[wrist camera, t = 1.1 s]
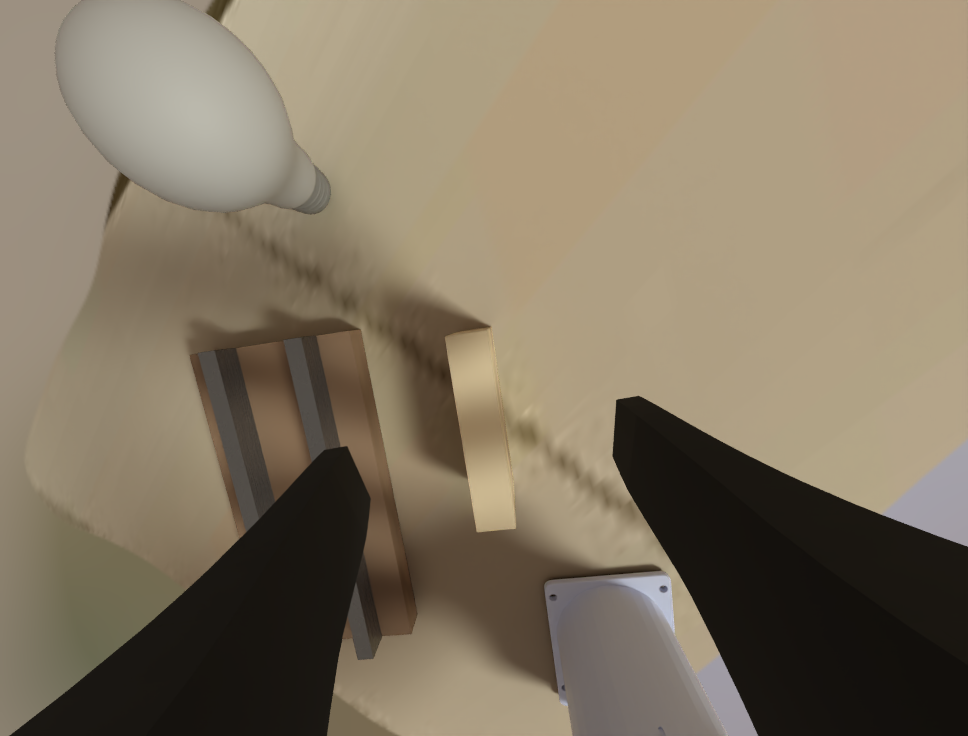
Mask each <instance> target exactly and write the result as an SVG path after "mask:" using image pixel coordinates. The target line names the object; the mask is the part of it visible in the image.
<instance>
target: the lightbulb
mask: <svg viewBox="0 0 968 736" xmlns="http://www.w3.org/2000/svg"><path fill="white" fill-rule="evenodd" d="M55 63H56V75H57V79H58V83H59V87H60V91H61V94H62V96H63V98H64V101H65V103H66V105H67V107H68V109H69V110H70V112H71V114H72V115H73V117H74V118H75V121H76V122H77V124H78V125H79V127H80V128H81V130H82V132H83V134H84V135H85V136H86V137H87V138H88V139H89V140H90V142H91V143H92V144H93V145H94V146H95V148H96V149H97V150H98V151H99V152H100V153H101V154H102V155H103V157H104V158H105V159H106V160H107V161H108V162H109V163H110V164H111V165H113V166H114V167H115V168H116V169H117V170H119V171H120V172H121V173H122V174H124V175H125V176H126V177H128V178H129V179H130V180H132V181H133V182H134V183H136V184H137V185H139V186H141V187H143V188H144V189H146V190H148V191H150V192H151V193H153V194H155V195H157V196H159V197H161V198H162V199H164V200H166V201H169V202H172V203H175V204H178V205H181V206H184V207H187V208H190V209H193V210H200V211H209V212H221V213H227V212H236V211H241V210H245V209H248V208H252V207H255V206H258V205H261V204H263V203H267V204H271V205H274V206H277V207H280V208H286V209H290V208H291V209H294V210H296V211H299V212H302V213H305V214H316V213H319V212H320V211H322V210H323V209H324V208H325V207H326V206H327V204H328V202H329V200H330V195H331V189H330V184H329V181H328V180H327V178H326V176H325V175H324V174H323V173H322V172H321V171H320V170H319V169H318V168H317V167H316V166H315V165H314V164H313V163H312V161H311V159H310V157H309V156H308V154H307V153H306V152H305V151H304V150H303V149H302V148H301V147H300V146H299V145H298V144H297V143H296V141H295V140H294V138H293V132H292V128H291V124H290V121H289V118H288V114H287V111H286V108H285V105H284V102H283V99H282V97H281V95H280V93H279V91H278V90H277V88H276V86H275V84H274V82H273V81H272V79H271V77H270V76H269V74H268V73H267V71H266V69H265V68H264V66H263V65H262V64H261V63H260V61H259V60H258V59H257V58H256V56H255V55H254V54H253V53H252V52H251V50H250V49H249V48H248V47H247V46H246V45H245V44H244V43H243V42H242V41H241V40H240V39H239V38H238V37H236V36H235V35H234V34H233V33H232V32H231V31H229V30H228V29H227V28H226V27H225V26H223V25H222V24H221V23H219V22H218V21H216V20H215V19H214V18H212V17H211V16H209V15H207V14H206V13H204V12H202V11H200V10H199V9H197V8H195V7H193V6H191V5H189V4H187V3H185V2H183V1H181V0H82V1H80V2H79V3H78V4H77V5H75V6H74V7H73V9H71V11H70V12H69V13H68V15H67V16H66V17H65V18H64V20H63V22H62V24H61V26H60V28H59V31H58V35H57V38H56V45H55Z"/></svg>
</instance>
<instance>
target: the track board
mask: <svg viewBox="0 0 968 736" xmlns="http://www.w3.org/2000/svg"><path fill="white" fill-rule="evenodd" d="M190 359H191V362H192V366H193V370H194V373H195V377H196V381H197V384H198V388H199V392H200V395H201V399H202V402H203V406H204V410H205V413H206V417H207V421H208V424H209V428H210V432H211V435H212V439H213V442H214V446H215V450H216V453H217V457H218V461H219V464H220V468H221V472H222V475H223V479H224V482H225V486H226V490H227V493H228V497H229V501H230V504H231V508H232V512H233V515H234V519H235V522H236V526H237V530H238V533H239V537H240V538H241V537H242V536H243V535H244V534H245V533H246V532H247V531H248V530H249V529H250V528H251V527H252V526H253V525H254V524H255V523H256V522H257V521H258V520H259V519H260V518H261V517H262V515H263V514H264V513H265V512H266V511H267V510H268V509H269V508H270V507H271V506H272V505H273V504H274V503H275V502H276V500H277V499H278V498H279V497H280V496H281V495H282V494H283V493H284V492H285V491H286V490H287V489H288V488H289V487H290V485H291V484H292V483H293V482H294V481H295V480H296V479H297V478H298V477H299V476H300V475H301V473H302V472H303V471H304V470H305V469H306V468H307V467H308V466H309V465H310V464H311V463H312V462H313V461H314V460H315V459H316V458H317V456H318V455H319V454H321V453H322V452H323V451H324V450H326V449H332V448H338V447H344V446H347V447H348V449H349V451H350V453H351V456H352V458H353V460H354V462H355V464H356V467H357V469H358V471H359V473H360V476H361V478H362V480H363V482H364V484H365V487H366V489H367V491H368V493H369V495H370V498H371V502H370V512H369V521H368V529H367V537H366V541H365V546H364V550H363V554H362V559H361V563H360V567H359V571H358V575H357V580H356V584H355V588H354V592H353V596H352V600H351V604H350V608H349V612H348V617H347V621H346V625H345V629H344V633H343V638H342V639H349V638H353V641H354V645H355V650H356V654H357V658H358V660H362V659H373V658H374V656H375V653H376V651H377V648H378V645H379V643H380V640H381V638H382V636H390V635H404V634H412V630H413V627H414V624H415V620H416V617H417V610H416V605H415V600H414V595H413V590H412V585H411V580H410V575H409V570H408V565H407V560H406V555H405V550H404V545H403V540H402V535H401V530H400V525H399V520H398V515H397V510H396V505H395V500H394V495H393V490H392V485H391V480H390V475H389V470H388V465H387V460H386V455H385V450H384V445H383V440H382V435H381V430H380V425H379V420H378V415H377V410H376V405H375V400H374V395H373V390H372V385H371V380H370V375H369V370H368V365H367V360H366V355H365V350H364V345H363V340H362V335H361V330H351V331H344V332H337V333H331V334H324V335H317V336H308V337H300V338H293V339H287V340H283V341H278V342H271V343H265V344H258V345H252V346H245V347H238V348H231V349H222V350H214V351H208V352H201V353H198V354H192V355H190Z"/></svg>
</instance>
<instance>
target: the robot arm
mask: <svg viewBox="0 0 968 736" xmlns="http://www.w3.org/2000/svg"><path fill="white" fill-rule="evenodd" d="M613 459H614V461H615V463H616V465H617V468H618V470H619V472H620V475H621V477H622V479H623V481H624V483H625V485H626V487H627V489H628V491H629V493H630V495H631V496H632V498H633V500H634V501H635V503H636V505H637V506H638V508H639V510H640V511H641V513H642V515H643V516H644V518H645V520H646V521H647V523H648V525H649V526H650V528H651V529H652V531H653V533H654V534H655V536H656V538H657V539H658V541H659V542H660V544H661V546H662V547H663V549H664V551H665V552H666V554H667V555H668V557H669V559H670V560H671V562H672V564H673V565H674V567H675V568H676V570H677V572H678V573H679V575H680V577H681V579H682V580H683V582H684V584H685V586H686V587H687V589H688V591H689V593H690V595H691V596H692V598H693V600H694V602H695V604H696V606H697V608H698V610H699V612H700V614H701V616H702V618H703V620H704V622H705V624H706V626H707V628H708V630H709V632H710V634H711V636H712V638H713V640H714V642H715V644H716V647H717V649H718V651H719V653H720V655H721V657H722V659H723V661H724V663H725V665H726V667H727V669H728V672H729V674H730V676H731V678H732V680H733V682H734V684H735V686H736V688H737V690H738V692H739V694H740V697H741V699H742V701H743V703H744V705H745V708H746V710H747V712H748V714H749V716H750V718H751V721H752V723H753V725H754V727H755V730H756V732H757V734H758V736H968V547H967V546H964V545H961V544H958V543H956V542H953V541H950V540H947V539H944V538H941V537H938V536H936V535H933V534H931V533H928V532H925V531H923V530H920V529H917V528H915V527H912V526H909V525H907V524H904V523H901V522H899V521H896V520H894V519H891V518H888V517H886V516H883V515H880V514H878V513H875V512H873V511H870V510H868V509H865V508H863V507H861V506H858V505H856V504H853V503H851V502H848V501H846V500H844V499H841V498H839V497H837V496H834V495H832V494H830V493H827V492H825V491H823V490H820V489H818V488H816V487H813V486H811V485H809V484H807V483H804V482H802V481H800V480H798V479H795V478H793V477H791V476H789V475H787V474H785V473H782V472H780V471H778V470H776V469H774V468H772V467H770V466H768V465H766V464H764V463H762V462H760V461H758V460H756V459H754V458H752V457H750V456H748V455H746V454H744V453H742V452H740V451H738V450H736V449H734V448H732V447H731V446H729V445H727V444H725V443H723V442H721V441H719V440H717V439H716V438H714V437H712V436H710V435H708V434H706V433H705V432H703V431H701V430H699V429H697V428H696V427H694V426H692V425H690V424H689V423H687V422H685V421H683V420H682V419H680V418H678V417H676V416H675V415H673V414H671V413H669V412H668V411H666V410H664V409H662V408H660V407H659V406H657V405H655V404H653V403H652V402H650V401H648V400H646V399H644V398H642V397H640V396H636V397H630V398H624V399H618V400H616V413H615V428H614V442H613ZM370 502H371V498H370V495H369V493H368V491H367V489H366V487H365V484H364V482H363V480H362V478H361V476H360V473H359V471H358V469H357V467H356V464H355V462H354V460H353V458H352V456H351V453H350V451H349V449H348V447H347V446H344V447H338V448H332V449H326V450H324V451H323V452H322V453H321V454H319V455H318V456H317V458H316V459H315V460H314V461H313V462H312V463H311V464H310V465H309V466H308V467H307V468H306V469H305V470H304V471H303V472H302V473H301V475H300V476H299V477H298V478H297V479H296V480H295V481H294V482H293V483H292V484H291V485H290V487H289V488H288V489H287V490H286V491H285V492H284V493H283V494H282V495H281V496H280V497H279V498H278V499H277V500H276V502H275V503H274V504H273V505H272V506H271V507H270V508H269V509H268V510H267V511H266V512H265V513H264V514H263V515H262V517H261V518H260V519H259V520H258V521H257V522H256V523H255V524H254V525H253V526H252V527H251V528H250V529H249V530H248V531H247V532H246V533H245V534H244V535H243V536H242V537H241V538H240V539H239V540H238V541H237V542H236V543H235V544H234V545H233V546H232V547H231V548H230V549H229V550H228V551H227V552H226V553H225V554H224V555H223V556H222V557H221V558H220V559H219V560H218V561H217V562H216V563H215V564H214V565H213V566H212V567H211V568H210V569H209V570H208V571H207V572H205V573H204V574H203V575H202V576H201V577H200V578H199V579H198V580H197V581H196V582H195V583H194V584H193V585H192V586H190V587H189V588H188V589H187V590H186V591H185V592H184V593H183V594H182V595H181V596H179V597H178V598H177V599H176V600H175V601H174V602H173V603H172V604H170V605H169V606H168V607H167V608H166V609H165V610H164V611H163V612H161V613H160V614H159V615H158V616H157V617H156V618H155V619H154V620H152V621H151V622H150V623H149V624H148V625H147V626H146V627H144V628H143V629H142V630H141V631H140V632H138V634H136V635H135V636H134V637H132V638H131V639H130V640H129V641H127V642H126V643H125V644H124V645H123V646H121V647H120V648H119V649H118V650H117V651H115V652H114V653H113V654H112V655H111V656H109V657H108V658H107V659H106V660H104V661H103V662H102V663H101V664H99V665H98V666H97V667H96V668H95V669H93V670H92V671H91V672H90V673H89V674H87V675H86V676H85V677H84V678H83V679H81V680H80V681H79V682H78V683H76V684H75V685H74V686H73V687H71V688H70V689H69V690H68V691H67V692H65V693H64V694H63V695H62V696H60V697H59V698H58V699H56V700H55V701H54V702H53V703H51V704H50V705H49V706H47V707H46V708H45V709H44V710H42V711H41V712H40V713H38V714H37V715H36V716H34V717H33V718H32V719H31V720H29V721H28V722H27V723H26V724H24V725H23V726H21V727H20V728H19V729H18V730H16V731H15V732H14V733H12V734H11V735H10V736H327V730H328V723H329V715H330V709H331V702H332V696H333V689H334V683H335V676H336V670H337V663H338V657H339V652H340V647H341V643H342V638H343V633H344V629H345V625H346V621H347V617H348V612H349V608H350V604H351V600H352V596H353V592H354V588H355V584H356V580H357V575H358V571H359V567H360V563H361V559H362V554H363V550H364V546H365V541H366V537H367V529H368V521H369V512H370ZM663 585H665V586H664V587H662V588H660V587H661V586H663ZM544 591H545V598H546V605H547V613H548V620H549V627H550V634H551V642H552V649H553V656H554V664H555V671H556V678H557V685H558V693H559V700H560V702H561V703H562V704H563V705H565V706H568V709H569V715H570V721H571V728H572V734H573V736H728V734H727V732H726V730H725V728H724V727H723V725H722V723H721V721H720V719H719V717H718V715H717V713H716V711H715V710H714V708H713V706H712V704H711V702H710V700H709V698H708V696H707V694H706V693H705V691H704V689H703V687H702V685H701V683H700V681H699V679H698V678H697V676H696V674H695V672H694V670H693V668H692V666H691V664H690V662H689V661H688V659H687V657H686V655H685V653H684V651H683V649H682V647H681V645H680V644H679V642H678V640H677V638H676V636H675V629H674V616H673V603H672V590H671V580H670V577H669V576H668V574H667V573H666V572H664V571H653V572H641V573H629V574H617V575H605V576H593V577H581V578H569V579H557V580H549V581H547V582H546V583H545V584H544ZM552 594H555V596H550V595H552Z"/></svg>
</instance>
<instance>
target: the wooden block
mask: <svg viewBox="0 0 968 736" xmlns="http://www.w3.org/2000/svg"><path fill="white" fill-rule="evenodd" d="M445 342H446V348H447V354H448V360H449V366H450V372H451V378H452V384H453V390H454V396H455V403H456V409H457V415H458V421H459V427H460V433H461V439H462V445H463V451H464V457H465V463H466V469H467V475H468V482H469V488H470V494H471V500H472V506H473V512H474V518H475V524H476V530H477V532H486V531H496V530H507V529H516V515H515V496H514V480H513V473H512V466H511V459H510V452H509V445H508V438H507V431H506V424H505V417H504V410H503V403H502V396H501V389H500V382H499V376H498V369H497V362H496V355H495V348H494V341H493V334H492V327H486V328H479V329H473V330H466V331H459V332H456V333H453V334H450V335H447V336H445Z"/></svg>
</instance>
